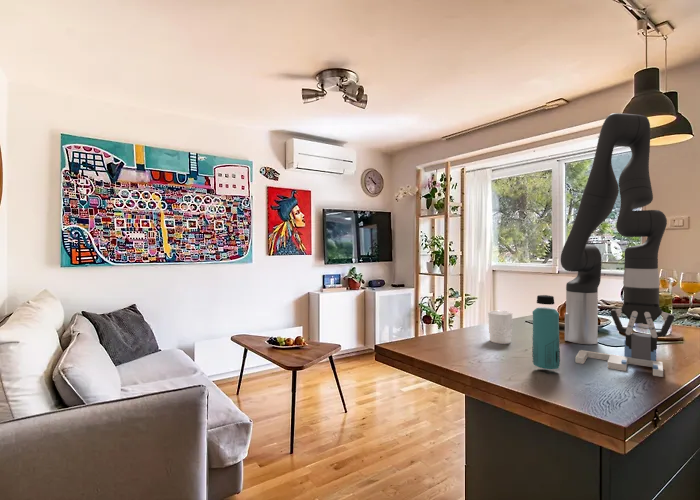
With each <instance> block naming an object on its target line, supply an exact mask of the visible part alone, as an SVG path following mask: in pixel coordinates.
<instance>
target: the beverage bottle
mask: <svg viewBox="0 0 700 500" xmlns="http://www.w3.org/2000/svg"><path fill="white" fill-rule="evenodd" d="M536 304H538V305H548V306H549V305H551V306H552V305H555V297H554V296H553V295H547V294H540V295H537V297H536ZM531 338H532V347H531V348H532V352H531V353H532V354H531V355H532V364H533V365H534V366H535V367H538V368H540V369H545V370H557V369H559V368H560V365H561V360H560V358H561V355H560V353H561V349H560V346H561V343H560V313H559V312H558V310H556V309H555V308H553V307H546V306H544V307H543V306H542V307H540V306H539V307H536V308H535V309H534V310H533V311H532V337H531Z"/></svg>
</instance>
